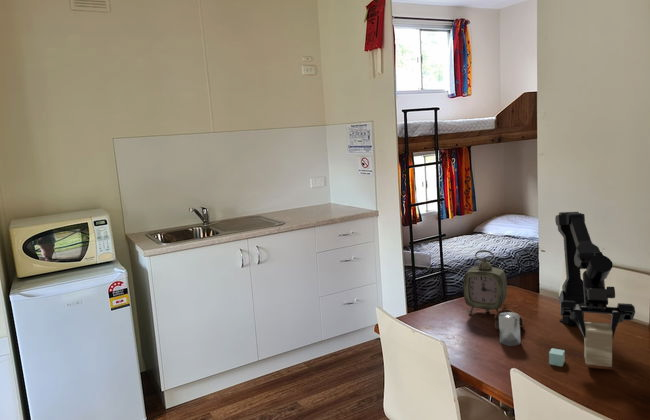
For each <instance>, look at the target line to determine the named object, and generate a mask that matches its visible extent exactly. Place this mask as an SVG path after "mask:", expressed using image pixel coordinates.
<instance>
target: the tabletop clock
mask: <svg viewBox="0 0 650 420" xmlns="http://www.w3.org/2000/svg"><path fill="white" fill-rule="evenodd" d="M479 253H489V254H491V256H492V257H491V258H489V259H487V257H483V258H480V257H478V256H477V254H479ZM474 257H475V258H476V259H477V260H478V261H481V262H479V264H478V265H477V266H473V267H470V268H469V269H468V270H467V272H465V274H464V276H463V284H462V285H463V286H462V289H463V290H462V291H463V298H464V301H465V303H466V305H467V306H469V307H471V308H470V309H469V310H468V311H467V313H468V314H469V315H472V314H473V313H474V312H473V310H474V308H476V309H482V310H485V312H486V313H489V312H490V310H495V311H496V312H499V311H500V310H501V309H502V307H503V304H504V303H505V302H506V299H507V294H508V283H507V275H506V273H505V270H503V269H501V268H498V267H493V265H492V264H491V263H490V262H491V261H493V260H494V259H495V255H494V253H493V252H491V250H486V249H481V250H478V251H476V252H475V255H474ZM499 309H500V310H499ZM497 319H499V317H498V318H497Z"/></svg>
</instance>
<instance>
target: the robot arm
mask: <svg viewBox="0 0 650 420" xmlns="http://www.w3.org/2000/svg"><path fill="white" fill-rule="evenodd" d="M585 218H586V217H585V213H582V212H579V211H562V212H561V211H560V212H558V214H557V215H555V225H556V226H557V231H558V232H559V234H560V235H561V236H562V238H563V250H564V251H563V252H564V260H565V262H564V263H565V275H566V278H565V281H564V282H563V284H562V285H561V289H562V290H561V291H560V293H559V296H558V304H559V305H560V308H559V312H560V316H561V317H562V318H561V319H559V322H561V323H563V324H567V325H568V326H570V327H578V328H579V330H580V332H581V334H582V336H583V339H584V338H586V331H585V326H584V322H588V321H586V320H585V314H586V313H589V314H590V313H591V314H605V315H611V318H610V326H611V329H612V341H613V339H614V336H615V333H616V329H617V327H618V325H619V323H623V322H624V321H633V320H634V317H635V314H636V309H635V305H633V304H632V303H622V302H620V303H619V302H618V303H617V306H615V307H613V306H608V305H609V299H615V298H616V289H615V288H616V287H615V286H606V281H605V280H606V279H607V277H608V276H609V274H610V272H611V270H612V269H613V261H612V260H611V259H610V258H609V257H607V256H606V255H604V254H603V252H602V251H601V249H600V247H599V246H598V245H596V244H594V243H593V242H592V239H591V236H590V233H589V231H588V228H587V225H586V219H585ZM581 270H584V271H583V273H582V276H581Z"/></svg>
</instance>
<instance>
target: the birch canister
mask: <svg viewBox="0 0 650 420" xmlns="http://www.w3.org/2000/svg"><path fill="white" fill-rule="evenodd" d="M584 326H585V331H586V338H584V337H583V340H584V341H583V342H584V344H583V346H584V347H583V348H584V349H583V350H584V351H583V356H584V357H583V358H584V361H585V365H589V366H599V367H608V368H612V367H613V340H612V329H611V323H606V322H589V321H587V322H584Z"/></svg>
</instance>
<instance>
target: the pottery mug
mask: <svg viewBox="0 0 650 420" xmlns="http://www.w3.org/2000/svg"><path fill="white" fill-rule="evenodd" d="M498 311H499V312H497V311H496V312H497V313H496V314H495V315H494V318H493V319H494V327H495V330H496V331H499V320H498V319H499V318H498V317H499V314H500V313H504V312H513V313H516V314H518V315H519V317H520V327H522V329H523V331H525V330H526V329H525V324H524V321H523V319H522V316H521V315H520V314H519V313H517V312H516V311H514V310H512V309H511V308H507V307H503V308H502V307H501V309H500V310H498Z"/></svg>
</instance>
